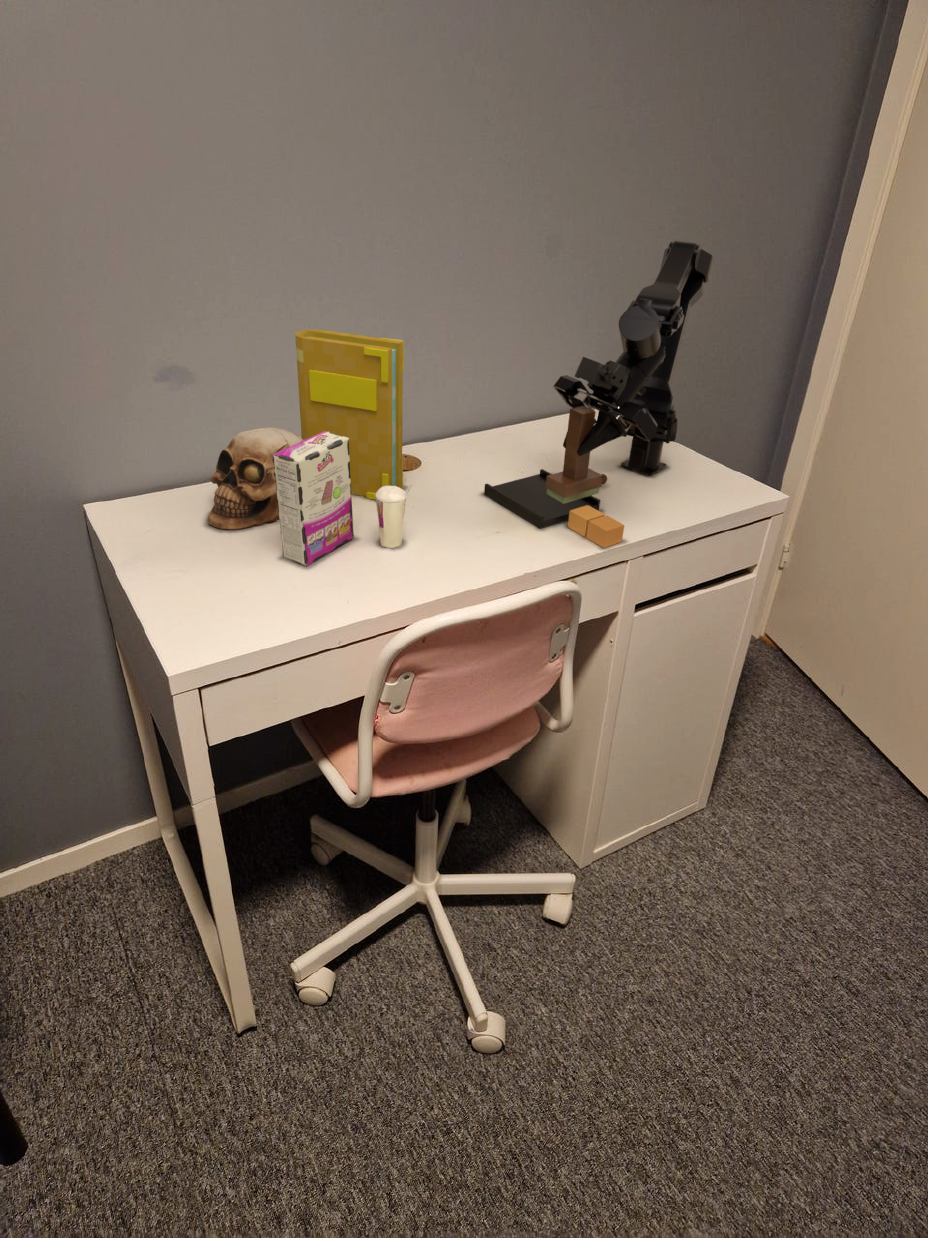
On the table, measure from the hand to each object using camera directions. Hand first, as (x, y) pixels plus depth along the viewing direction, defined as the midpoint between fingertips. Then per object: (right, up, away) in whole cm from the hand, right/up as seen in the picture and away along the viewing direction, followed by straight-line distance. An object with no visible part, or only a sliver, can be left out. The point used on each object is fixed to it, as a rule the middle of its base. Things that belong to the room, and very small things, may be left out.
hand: (571, 450), depth 133 cm
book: (-36, -3, +15) cm, 39 cm away
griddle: (0, -5, +14) cm, 15 cm away
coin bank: (-50, -8, +6) cm, 51 cm away
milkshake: (-27, -15, -2) cm, 31 cm away
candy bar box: (-39, -16, -5) cm, 42 cm away
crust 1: (+3, -12, +5) cm, 13 cm away
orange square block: (+5, -14, +2) cm, 15 cm away
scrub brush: (+1, -6, +5) cm, 8 cm away
